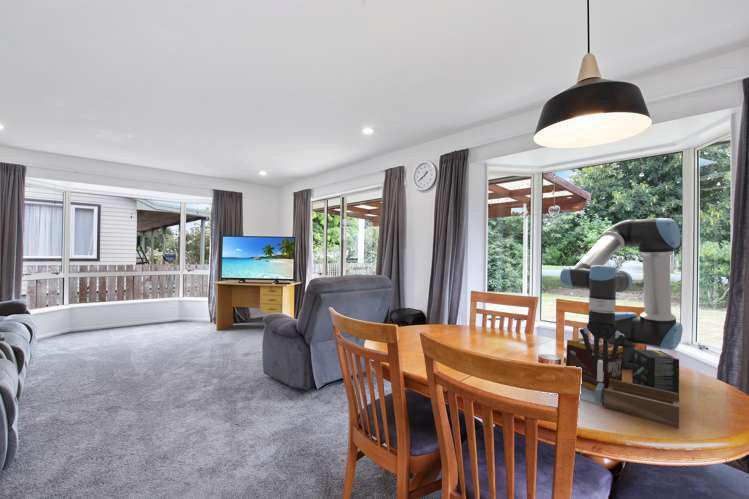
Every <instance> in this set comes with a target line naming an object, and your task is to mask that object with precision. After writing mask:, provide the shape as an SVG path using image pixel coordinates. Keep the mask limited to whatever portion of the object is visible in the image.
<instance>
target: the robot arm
mask: <svg viewBox="0 0 749 499" xmlns="http://www.w3.org/2000/svg"><path fill="white" fill-rule="evenodd" d="M681 240H682V239H681V231H680V227H679V225H678V224H677V222H676V221H675V219H672V218H671V217H670V218H668V217H667V218H666V217H657V218H643V219H627V220H623V221H619V222H617V223H615V224H613V225H611V226H610V227H608V228H607V229H605V230H604V231H602V233H601V234H600V235H599V236H598V241H597V242H596V243H595V244H594V245H593V246H592V247H591V249H590V250H589V251H588V252H587V253H586V254H584V256H583V257H582V258H581V259H580V260H579V262H577V263H576V264H575V266H574V267H565V268H562V269H561V272H560V274H559V276H560V277H559V280H560V282H561V285H562V286H564V287H568V288H573V289H584V290H589V294H588V295H589V296H588V308H589V311H588V322H587V325H586V326H585V327H581V328H579V331H578V332H579V333H580V334H581V336H582V338H583V340H584V344H585V348H586V352H587V356H588V357H589V358H591V359H593V360H594V370H597V381H600V382H603V377H604V372H607V370H608V362H613V361H614V359H615V356H616V353H617V350H618V347H619V346H621V347H623V360H622V369H629V370H631V369H632V370H633V349H637V345H642V346H647V347H652V348H657V349H659V350H665V351H666V350H667V351H674V350H675V349H676V348H678V347H679V345H680V343H681V339H682V335H683V325H682V323H681V322H677V317H676V316H675V315H674V314H673V313H672V304H671V303H672V302H671V299H672V298H671V263H670V262H671V259H670V256H671V255H672V254H673V253H674V252H675V248H678V247H679V246H680V244H681ZM632 247H633V248H637V252H638V253H639V254H640V255H641V256H642V272H643V274H642V275H643V308H644V311H643V312H641V313H640V314H639V316H638V314H637V312H635V311H634V312H632V311H616V306H617V305H616V303H617V300H616V299H617V298H616V297H617V293H623V292H625V291H627V290H629V289H631V287H632V285H633V278H632V275H630V273H628V272H627V271H624V270H618V269H617V268H616V266H614V265H606V264H607V262H608V261H609V260H610V259H611V258H612V257H613V256H614V254H615V253H616V252H618V251H621V250H622V249H623V248H632ZM589 333H590V334H591V336H592V337H593V340H594V355H593V354H592V350H591V346H590V342H589V339H590V338H589ZM600 339H602V342H603V361H602V360H599V341H600ZM608 344H612V345H614V347H613V350H612V353H611V356H610V357H608Z"/></svg>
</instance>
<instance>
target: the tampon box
mask: <svg viewBox="0 0 749 499" xmlns="http://www.w3.org/2000/svg"><path fill="white" fill-rule="evenodd" d="M631 377H632V381H631V383H633V384H638V385H643V386H647V387H652V388H656V389H661V390H666V391H670V392H675V393H678V403H679V402H680V358H677V357H674V356H673V355H670V354H669V353H666V352H664V351H662V350H655V349H654V350H652V349H640V348H639V349H638V348H636V349H633V369H632V376H631Z"/></svg>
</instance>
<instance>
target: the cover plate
mask: <svg viewBox="0 0 749 499" xmlns="http://www.w3.org/2000/svg"><path fill="white" fill-rule="evenodd" d="M580 389H581V394H580V400H579V401H582V402H587V403H589V404H593V405H597V406H602V405H604V384H603V383H598V385H597V387H596V389H594V391H592V390H587V389H585V388H580Z"/></svg>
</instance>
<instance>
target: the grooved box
mask: <svg viewBox="0 0 749 499" xmlns="http://www.w3.org/2000/svg"><path fill="white" fill-rule="evenodd" d="M603 409H606V410H610V411H613V412H614V411H615V412H617V413H621V414H624V415H629V416H632V417H636V418H640V419H644V420H648V421H651V422H655V423H659V424H663V425H666V426H668V427H669V426H670V427H672V428H673V427H674V428H678V429H679V428H680V405H679V402H678V393H675V392H670V391H666V390H661V389H656V388H652V387H647V386H643V385H638V384H633V383H632V382H627V381H623V380H622V381H620V380H615V379H609V387H608V389H606V388H605V393H604V401H603Z"/></svg>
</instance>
